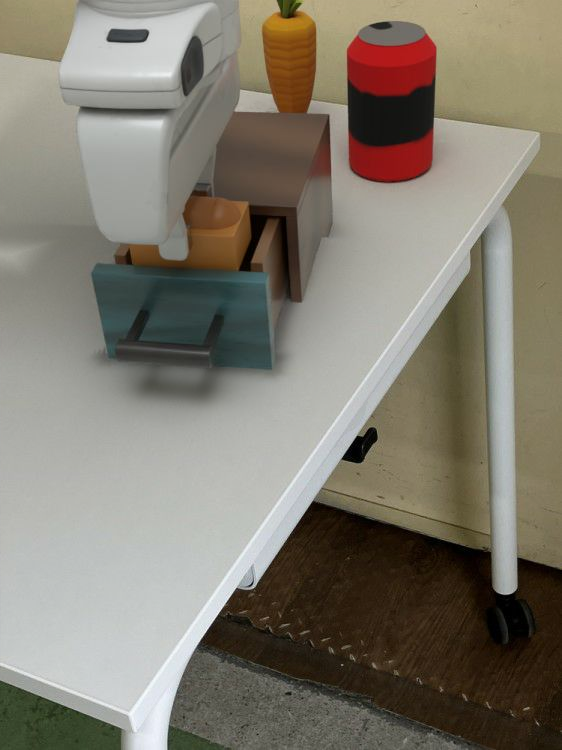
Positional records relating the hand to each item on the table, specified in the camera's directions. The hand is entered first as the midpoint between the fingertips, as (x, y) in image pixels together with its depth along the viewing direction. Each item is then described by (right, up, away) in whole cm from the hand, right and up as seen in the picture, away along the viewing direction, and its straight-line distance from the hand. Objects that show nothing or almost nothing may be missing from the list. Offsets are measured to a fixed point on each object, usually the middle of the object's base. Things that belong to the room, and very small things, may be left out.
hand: (188, 230), depth 65 cm
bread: (0, -1, +1) cm, 2 cm away
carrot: (+7, +14, +33) cm, 37 cm away
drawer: (+1, -7, +6) cm, 9 cm away
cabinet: (+3, -1, +15) cm, 15 cm away
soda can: (+16, +10, +27) cm, 32 cm away
